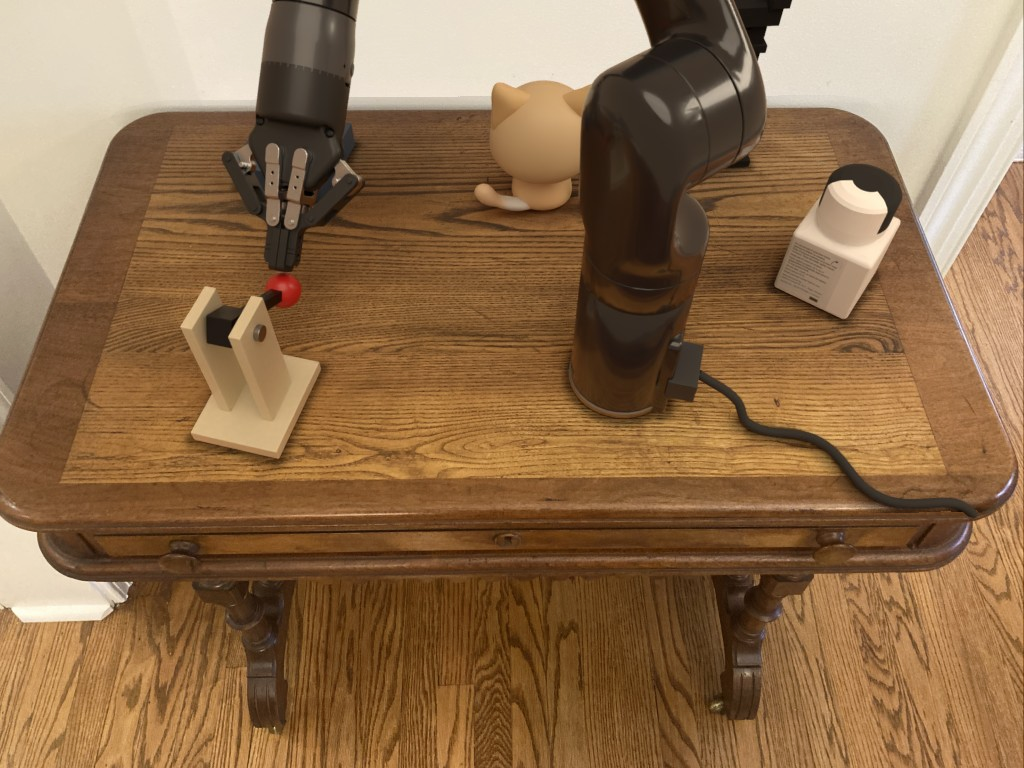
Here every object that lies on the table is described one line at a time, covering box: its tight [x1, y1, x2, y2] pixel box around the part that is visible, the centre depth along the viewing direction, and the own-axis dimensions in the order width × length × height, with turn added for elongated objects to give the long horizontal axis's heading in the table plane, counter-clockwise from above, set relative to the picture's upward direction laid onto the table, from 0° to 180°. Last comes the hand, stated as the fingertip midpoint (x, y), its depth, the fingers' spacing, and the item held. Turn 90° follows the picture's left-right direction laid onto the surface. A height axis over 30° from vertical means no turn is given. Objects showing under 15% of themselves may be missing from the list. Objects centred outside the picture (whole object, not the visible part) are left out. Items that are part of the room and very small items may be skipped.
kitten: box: [474, 79, 592, 212], centre depth 87 cm, size 15×10×15 cm, turn 89°
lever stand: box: [179, 285, 322, 460], centre depth 72 cm, size 10×8×13 cm
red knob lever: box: [206, 272, 303, 349], centre depth 73 cm, size 13×3×3 cm
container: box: [774, 163, 903, 320], centre depth 81 cm, size 8×8×13 cm
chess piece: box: [727, 0, 793, 169], centre depth 90 cm, size 8×8×20 cm
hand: (280, 270), depth 76 cm, fingers closed
